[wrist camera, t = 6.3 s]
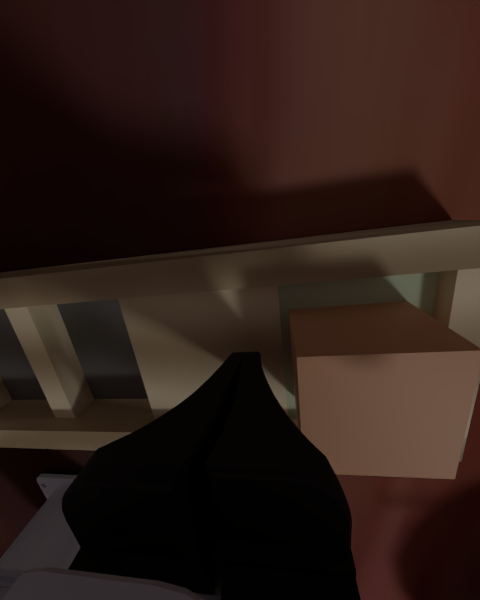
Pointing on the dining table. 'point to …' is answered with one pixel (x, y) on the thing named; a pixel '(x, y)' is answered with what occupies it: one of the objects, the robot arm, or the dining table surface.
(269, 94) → the dining table surface
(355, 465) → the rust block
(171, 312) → the trap lane
